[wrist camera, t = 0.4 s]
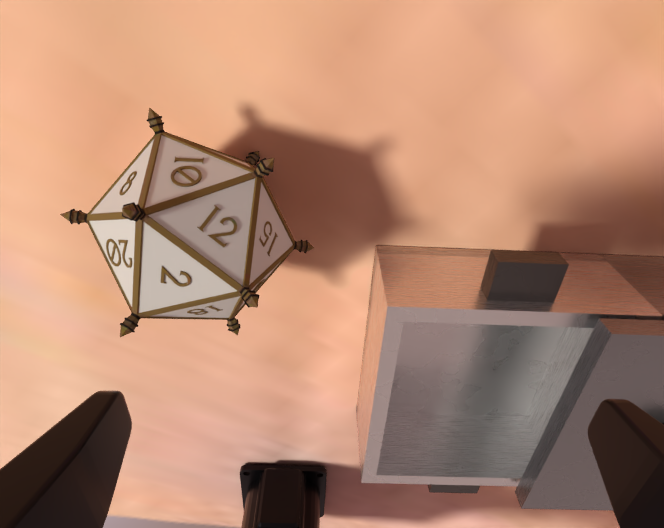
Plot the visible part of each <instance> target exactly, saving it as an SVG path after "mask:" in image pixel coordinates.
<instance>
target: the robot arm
mask: <svg viewBox="0 0 664 528" xmlns="http://www.w3.org/2000/svg"><path fill="white" fill-rule="evenodd" d="M131 428H132V422H131V417H130V414H129V411H128V408H127V404H126V401H125V398H124V396H123V394H122V393H121V392H120V391H98V392H96V393H94V394H93V395H92V396H90V397H89V398H88V399H87V400H85V401H84V402H83V403H82V404H80V405H79V406H78V407H77V408H75V409H74V410H73V411H72V412H70V413H69V414H68V415H67V416H66V417H64V418H63V419H62V420H61V421H59V422H58V423H57V424H56V425H54V426H53V427H52V428H51V429H49V430H48V431H47V432H46V433H44V434H43V435H42V436H41V437H40V438H38V439H37V440H36V441H35V442H33V443H32V444H31V445H30V446H28V447H27V448H26V449H25V450H23V451H22V452H21V453H20V454H18V455H17V456H16V457H15V458H13V459H12V460H11V461H10V462H9V463H7V464H6V465H5V466H4V467H2V468H1V469H0V528H103V525H104V522H105V520H106V517H107V514H108V511H109V507H110V504H111V501H112V497H113V494H114V490H115V487H116V483H117V480H118V476H119V472H120V469H121V465H122V462H123V458H124V455H125V451H126V448H127V444H128V441H129V437H130V433H131ZM588 439H589V442H590V445H591V448H592V451H593V454H594V456H595V459H596V462H597V465H598V468H599V471H600V474H601V477H602V479H603V482H604V485H605V488H606V491H607V494H608V497H609V499H610V502H611V505H612V508H613V511H614V513H615V516H616V518H617V521H618V523H619V526H620V528H664V425H663V424H662V423H660V422H659V421H658V420H656V419H655V418H653V417H652V416H651V415H649V414H648V413H646V412H645V411H643V410H642V409H641V408H639V407H638V406H636V405H635V404H634V403H632V402H630V401H628V400H625V399H605V400H603V401H602V402H601V403H600V405H599V406H598V408H597V410H596V412H595V414H594V416H593V418H592V420H591V422H590V424H589V426H588ZM326 476H327V470H326V468H324V467H321V466H281V465H243V466H242V467H241V470H240V479H241V488H242V498H243V507H244V515H243V521H242V528H319V523H320V517H322V516H323V515H324V503H325V490H326Z"/></svg>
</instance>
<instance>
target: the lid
mask: <svg viewBox="0 0 664 528" xmlns="http://www.w3.org/2000/svg"><path fill="white" fill-rule="evenodd" d="M605 399H625V400H628V401H630V402H632V403H634V404H635V405H636V406H638V407H639V408H641V409H642V410H643V411H645V412H646V413H648V414H649V415H651V416H652V417H653V418H655V419H656V420H658V421H659V422H660V423H662V424H663V425H664V320H636V319H607V318H599V319H598V321H597V323H596V325H595V327H594V329H593V331H592V333H591V335H590V337H589V339H588V341H587V344H586V346H585V348H584V350H583V352H582V354H581V356H580V358H579V360H578V362H577V364H576V366H575V368H574V370H573V372H572V375H571V377H570V379H569V381H568V383H567V385H566V387H565V389H564V391H563V393H562V395H561V397H560V399H559V401H558V403H557V405H556V408H555V410H554V412H553V414H552V416H551V418H550V420H549V422H548V424H547V426H546V428H545V430H544V432H543V434H542V436H541V438H540V441H539V443H538V445H537V447H536V449H535V451H534V453H533V455H532V457H531V459H530V461H529V463H528V465H527V467H526V469H525V472H524V474H523V476H522V478H521V480H520V482H519V484H518V486H517V488H516V490H515V493H516V495H517V498H518V501H519V503H520V506H521V509H570V510H613V508H612V505H611V502H610V499H609V497H608V494H607V491H606V488H605V485H604V482H603V479H602V477H601V474H600V471H599V468H598V465H597V462H596V459H595V456H594V454H593V451H592V448H591V445H590V442H589V439H588V426H589V424H590V422H591V420H592V418H593V416H594V414H595V412H596V410H597V408H598V406H599V405H600V403H601V402H602V401H603V400H605Z"/></svg>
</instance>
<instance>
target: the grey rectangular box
mask: <svg viewBox="0 0 664 528" xmlns="http://www.w3.org/2000/svg"><path fill="white" fill-rule="evenodd" d="M599 318H607V319H636V320H664V257H654V256H629V255H604V254H579V253H559V252H537V251H512V250H479V249H454V248H429V247H404V246H379V245H376V250H375V259H374V267H373V275H372V284H371V292H370V300H369V309H368V317H367V325H366V334H365V342H364V350H363V359H362V367H361V375H360V384H359V392H358V401H357V409H356V412H357V427H358V442H359V457H360V472H361V483H388V484H428V487H429V492H444V493H477V492H478V489H479V487H480V486H518V484H519V482H520V480H521V478H522V476H523V474H524V472H525V469H526V467H527V465H528V463H529V461H530V459H531V457H532V455H533V453H534V451H535V449H536V447H537V445H538V443H539V441H540V438H541V436H542V434H543V432H544V430H545V428H546V426H547V424H548V422H549V420H550V418H551V416H552V414H553V412H554V410H555V408H556V405H557V403H558V401H559V399H560V397H561V395H562V393H563V391H564V389H565V387H566V385H567V383H568V381H569V379H570V377H571V375H572V372H573V370H574V368H575V366H576V364H577V362H578V360H579V358H580V356H581V354H582V352H583V350H584V348H585V346H586V344H587V341H588V339H589V337H590V335H591V333H592V331H593V329H594V327H595V325H596V323H597V321H598V319H599Z"/></svg>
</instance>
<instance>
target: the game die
mask: <svg viewBox="0 0 664 528" xmlns="http://www.w3.org/2000/svg"><path fill="white" fill-rule="evenodd" d="M161 118H162V116H159V115H158V114H157V113H155V112H154V111H153V110H152V109H151V108H149V115H148V120H147V121H149V123H150V128H152V129H153V130H154V132H155V135H154V136H153V137H152V139H151V140H150V141H149V142H148V143H147V145H146V146H145V147H144V148H143V149H142V150H141V152H140V153H139V154H138V155H137V156H136V158H135V159H134V160H133V161H132V162H131V163H130V165H129V166H128V167H127V168H126V169H125V171H124V172H123V173H122V174H121V175H120V176H119V178H118V179H117V180H116V181H115V182H114V184H113V185H112V186H111V187H110V188H109V189H108V191H107V192H106V193H105V194H104V195H103V197H102V198H101V199H100V200H99V201H98V202H97V204H96V205H95V206H94V207H93V208H92V210H91V211H90V212H89V213H88V214H86V213H83V212H82V211H81V210H79V211H75V209H72V210H70V211H69V212H66V213H63V214H60V215H61V216H63V217H64V218H66V219H67V220H69V221H70V223H71V224H73V223H78V224H80V223H83V222H86V223H88V225H89V227H90V229H91V231H92V233H93V235H94V237H95V239H96V241H97V243H98V245H99V247H100V249H101V251H102V253H103V256H104V258H105V260H106V262H107V264H108V266H109V268H110V270H111V272H112V274H113V276H114V278H115V280H116V282H117V284H118V286H119V288H120V290H121V292H122V294H123V296H124V298H125V300H126V302H127V304H128V306H129V308H130V310H131V312H132V313H131V315H130V316H129V317H128V318H125V321H124V322H123V323H120V325H121V331H120V337H122V336H124V335H126V334H129V333H131V332H135V331H134V329H135V327H138V325H137V324H138V321H139V319H140V318H164V319H222V320H228V324H227V326H228V327H229V329H228V330H229V331H232V332H233V333H235V334H236V335H238V332H239V328H240V324H238V319H237V320H236V319H235V316H236V315H237V314H238V312H239V311H240V310H241V309H242V308H243V307H244V306H245V304H246V305H247V306H248V307H258V299H259V295H257V294H255V293H256V292H257V291H258V290H259V288H260V287H261V286H262V285H263V284H264V283H265V282H266V281H267V279H268V278H269V277H270V276H271V275H272V274H273V273H274V271H275V270H276V269H277V268H278V267H279V266H280V265H281V263H282V262H283V261H284V260H285V259H286V258H287V257H288V255H289V254H290V253H291V252H292V251H293V250H294V249H297V250H299V252H301V251H303V252H304V253H306V252H307V251H309V250H311V249H313V248H314V247H313V246H312V245H310V244H309V243H308V242H307V240H306V241H302V240H301V241H298V242H296V241H294V239H293V237H292V234H291V232H290V230H289V228H288V226H287V224H286V222H285V220H284V218H283V216H282V214H281V212H280V210H279V208H278V206H277V204H276V202H275V200H274V198H273V196H272V194H271V192H270V190H269V188H268V186H267V184H266V182H265V180H264V178H263V176H265V175H267V176H268V175H269V172H273V163H274V158H271V159H266V158H265V159H262V160H261V161H260V162H261V163H259V164H257V165H256V163H257V162H259V159H260V157H259V151H257V152H252V153H249V156H247V157H246V158H247V160H246V161H244V160H241V159H238V158H235V157H233V156H230V155H227V154H224V153H222V152H219V151H216V150H213V149H211V148H208V147H205V146H202V145H200V144H197V143H194V142H191V141H189V140H186V139H183V138H180V137H178V136H175V135H172V134H169V133H167V132H164V130H163V124H164V122H163V123H162V120H161ZM253 165H256V166H257V168H254V167H253Z"/></svg>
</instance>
